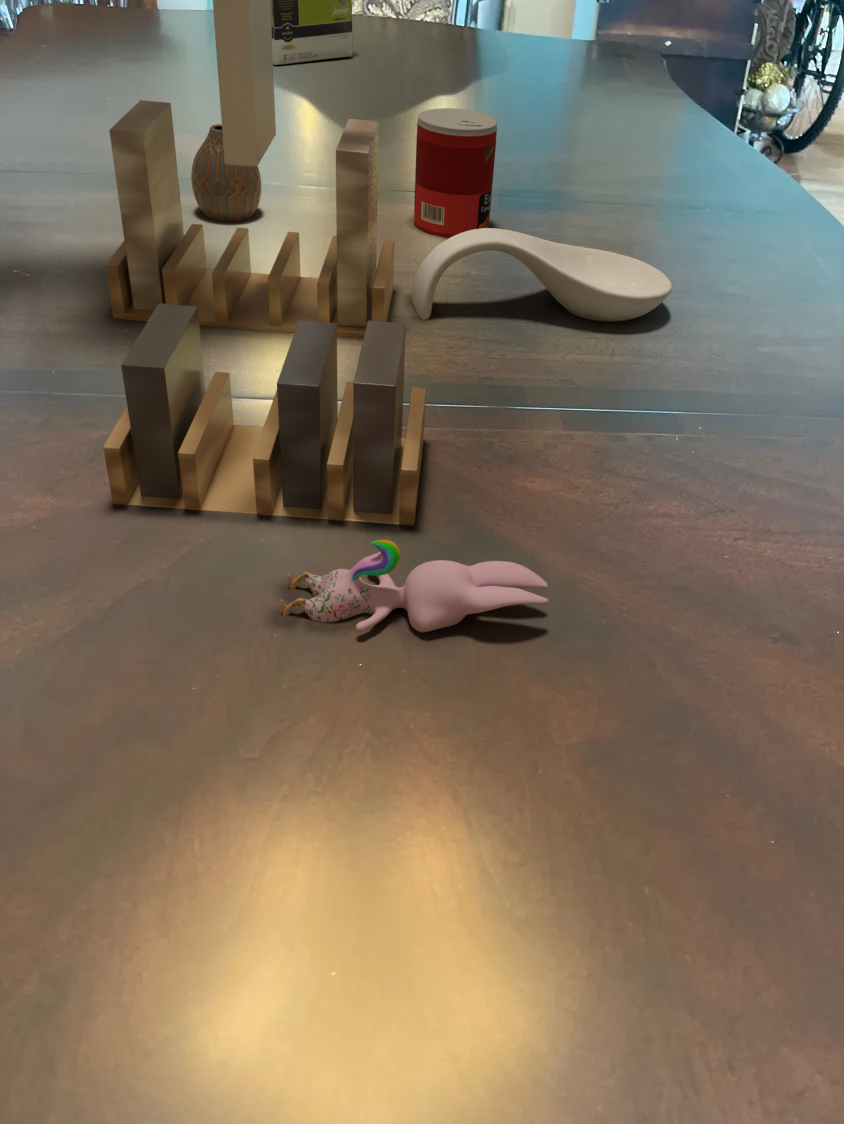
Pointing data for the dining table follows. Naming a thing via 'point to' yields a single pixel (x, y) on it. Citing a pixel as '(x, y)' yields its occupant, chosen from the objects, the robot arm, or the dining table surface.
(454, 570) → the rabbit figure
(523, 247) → the spoon rest
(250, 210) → the vase
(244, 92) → the white book
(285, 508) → the brown wooden book rack
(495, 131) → the canned food
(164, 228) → the wooden slotted rack
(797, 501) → the dining table surface
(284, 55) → the tea box
